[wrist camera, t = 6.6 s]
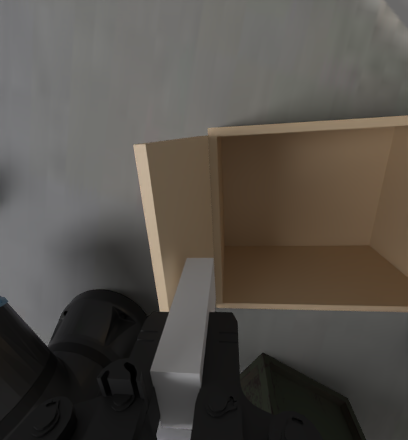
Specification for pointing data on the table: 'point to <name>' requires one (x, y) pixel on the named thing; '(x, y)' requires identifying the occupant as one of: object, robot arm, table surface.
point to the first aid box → (299, 398)
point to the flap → (175, 207)
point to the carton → (311, 215)
